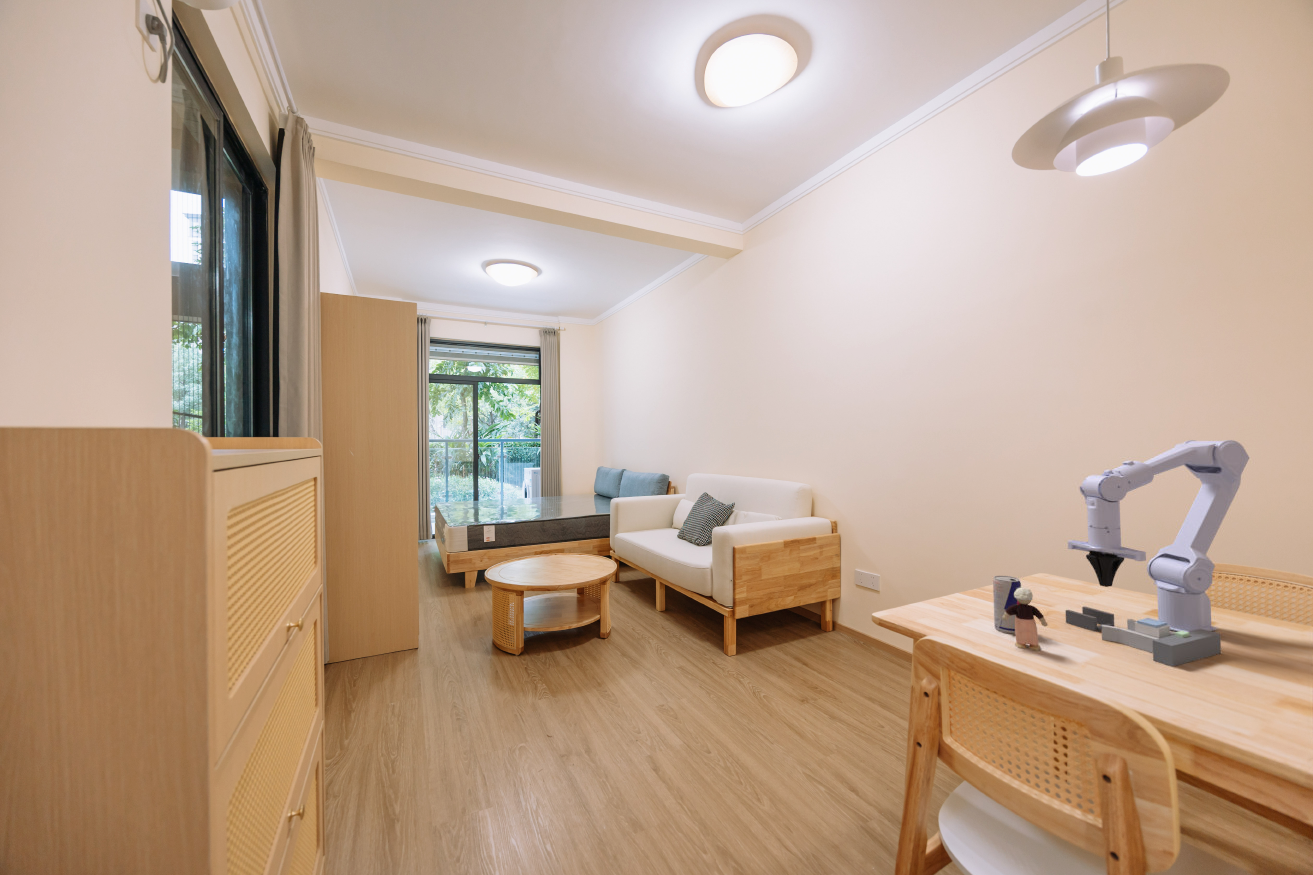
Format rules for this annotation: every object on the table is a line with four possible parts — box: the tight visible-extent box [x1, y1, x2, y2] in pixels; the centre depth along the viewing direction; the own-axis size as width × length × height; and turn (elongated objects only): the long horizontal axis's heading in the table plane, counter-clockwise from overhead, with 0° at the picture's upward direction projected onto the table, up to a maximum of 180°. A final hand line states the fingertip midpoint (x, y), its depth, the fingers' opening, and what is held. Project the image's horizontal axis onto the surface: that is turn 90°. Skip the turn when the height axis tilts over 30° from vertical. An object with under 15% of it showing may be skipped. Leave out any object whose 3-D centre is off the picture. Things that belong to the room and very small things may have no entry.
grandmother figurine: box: [1002, 586, 1049, 652], centre depth 109 cm, size 8×4×13 cm, turn 71°
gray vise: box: [1065, 606, 1115, 632], centre depth 121 cm, size 13×7×3 cm, turn 109°
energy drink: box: [992, 575, 1022, 635], centre depth 118 cm, size 5×5×12 cm
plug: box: [1135, 617, 1171, 639], centre depth 107 cm, size 4×4×6 cm
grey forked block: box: [1101, 618, 1222, 668], centre depth 107 cm, size 16×14×5 cm
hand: (1105, 585), depth 118 cm, fingers closed
